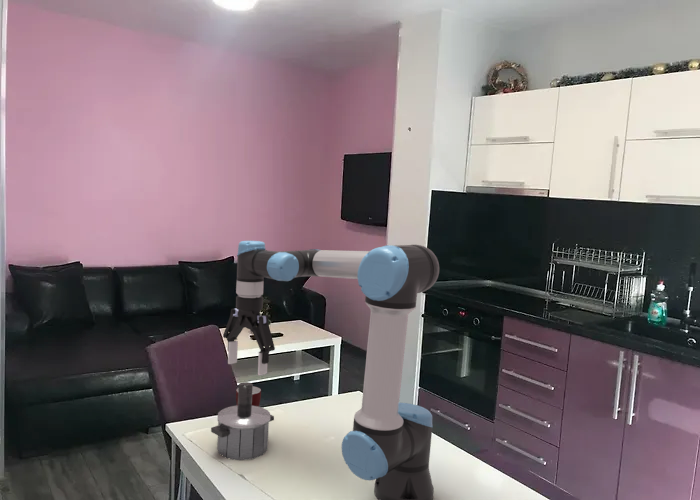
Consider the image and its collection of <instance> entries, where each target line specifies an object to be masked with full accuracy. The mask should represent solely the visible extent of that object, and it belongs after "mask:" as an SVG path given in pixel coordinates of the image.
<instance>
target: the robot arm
mask: <svg viewBox="0 0 700 500" xmlns="http://www.w3.org/2000/svg"><path fill="white" fill-rule="evenodd" d="M236 257H237V262H236V263H237V265H236V286H235V287H236V288H235V290H236V291H235V293H236V294H237V296H235V308H231V309H230V315H229V318H228V321H227V324H226V327H225V329H224V331H223V334H222V336H223V338H224V339H226V341H227V351H228V354H227V364H228V365H233V364H237V363H238V346H239V345H238V344H239V343H238V337H239V335H240V334H241V332H242V331H243V330H244V328H246V329H248V330H250V333H252V334H253V336H254V339H255V340H256V343H257V345H258V347H259V351H258V359H257V360H258V361H257V363H258V364H257V375H258V376H264V375H266V374H268V364H269V359H270V352H273V351H275V349H276V347H275V344H274V340H273V339H274V338H273V337H272V333H271V329H270V325H269V316H268V315H261V310H263V306H264V297H263V296H262V295H263V294H264V281H265V279H264V278H267V279H270V280H276V281H279V282H289V281H292V280H293V279H295V278H301V277H316V278H317V277H323V278H337V279H351V280H353V279H354V280H355V279H356V280H357V283H358V286H359V287H360V288H361V289H360V291H361V292H362V294H363V295H364V296H365V297H364V298H365V301H364V303H365V305H366V306H367V307H368V308H369V310H370V317H369V326H368V337H367V346H366V347H367V348H366V355H365V357H366V359H365V369H364V377H363V378H364V379H363V390H362V399H361V408H360V409H359V410H357V411H356V412H355V413H354V416H353V424H352V427H353V428H352V430H351V431H348V433H346V435H345V436H344V437H343V438H342V442H341V454H342V457H343V461H344V462H345V463H344V464H346V465H347V467H348V469H349V470H350V472H351V473H352V474H353V475H354V476H356V477H358V478H360V479H361V480H364V481H374V480H375V481H374V486H373V487H374V489H373V492H374V496H375V497H376V498H377V500H434V494H435V493H434V492H435V490H434V485H433V480H432V477H431V471H430V457H431V456H430V455H431V444H432V435H433V434H432V433H433V427H434V426H433V414H432V413H431V411H430V410H429V409H427V408H426V407H423V406H421V405H418V404H417V405H416V404H413V403H408V402H400V397H401V386H402V378H403V367H404V357H405V349H406V348H405V347H406V339H407V329H408V318H409V314H410V313H411V312H412V311H414V310H415V309H416V308H417V297H418V294H420V293H425V292H427V290H430V289H431V288H433V286H434V285H435V283H436V282H437V280H438V278H439V274H440V264H439V260H438V257H437V256H436V255H435V253H434V251H432V250H431V249H429V248H428V247H426V246H424V245H421V244H404V245H403V244H402V245H401V244H399V245H397V244H395V245H388V244H387V245H383V246H379V247H375V248H373V249H371V250H336V249H335V250H331V249H328V250H325V249H323V250H321V249H317V248H316V249H314V248H312V249H305V250H304V249H301V250H285V251H284V250H282V251H280V250H279V251H276V250H267V249H266V243H265V242H264V241H262V240H261V241H260V240H241V241H239V243H238V246H237V254H236Z"/></svg>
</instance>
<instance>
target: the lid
mask: <svg viewBox="0 0 700 500" xmlns="http://www.w3.org/2000/svg"><path fill="white" fill-rule="evenodd" d="M253 385H254V384H253V383H252V382H247V381H245V382H240V383H238V387H237V388H238V405H237V404H236V405H231V406H227V407H225V408H223V409H221V410H219V411H218V413H217V422H219V423H220V424H221V425H222V426H225V427H227V428H232V429H240V430H246V429H255V428H259V427H262V426H264V425H266V424H268V423H269V424H270V422H271V421H270V415H271V412H270V411H269V410H268V409H267V408H264V407H261V406H259V407H258V406H252V390H253ZM269 421H270V422H269Z"/></svg>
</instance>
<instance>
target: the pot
mask: <svg viewBox="0 0 700 500" xmlns="http://www.w3.org/2000/svg"><path fill="white" fill-rule="evenodd" d="M272 421H275V415H272V414H270V421H269V423H268V424H266V425H264V426H262V427H259V428H255V429H246V430H240V429H232V428H227V427H225V426H222V425H221V424H220V423H219V422H218V421H217V422H218V423H217V425H215V426H213V427H211V428H210V432H211V433H212V434H214V435H216V436H217V441H216V442H217V443H216V445H217V447H216V448H217V453H218V455H220V454H221V455H220V456H222V455H223V456H222V457H224V458H225V457H226V458H225V459H228V458H230V460H234V459H235V461H245V460H254V459H256V458H258V457H262V456H263V455H264V454H266V452H267V451H268V444H269V429H270V428H269V427H270V426H269V424H270V422H272Z"/></svg>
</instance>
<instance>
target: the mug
mask: <svg viewBox="0 0 700 500" xmlns="http://www.w3.org/2000/svg"><path fill="white" fill-rule="evenodd" d="M238 388H239V387H237V388H236V390H235V402H236V403H235V404H236V406H237V405H238ZM261 399H262V390H261V388H260V387H257V386H253V390H252V406H258V407H260V404H261Z"/></svg>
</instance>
